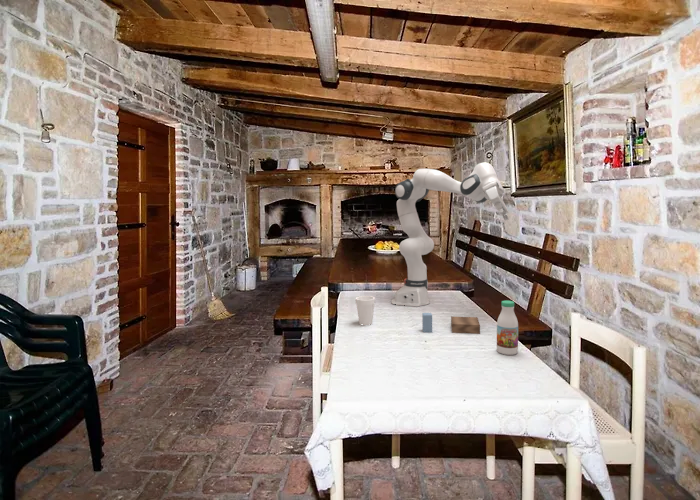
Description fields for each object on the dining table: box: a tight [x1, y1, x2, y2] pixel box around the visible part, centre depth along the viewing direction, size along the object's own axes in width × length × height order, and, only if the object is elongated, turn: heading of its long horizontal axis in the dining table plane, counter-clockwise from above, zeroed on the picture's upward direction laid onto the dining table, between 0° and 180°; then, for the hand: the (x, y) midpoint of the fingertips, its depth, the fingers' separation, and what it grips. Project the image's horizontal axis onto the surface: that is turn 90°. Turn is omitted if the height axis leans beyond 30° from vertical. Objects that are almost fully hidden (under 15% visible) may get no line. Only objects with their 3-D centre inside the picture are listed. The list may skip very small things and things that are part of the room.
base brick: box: [450, 316, 481, 335], centre depth 178 cm, size 12×12×4 cm
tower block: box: [421, 312, 433, 333], centre depth 177 cm, size 4×4×8 cm
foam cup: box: [355, 295, 376, 326], centre depth 190 cm, size 10×9×13 cm
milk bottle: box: [496, 300, 519, 356], centre depth 149 cm, size 8×8×20 cm
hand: (504, 216), depth 177 cm, fingers open, 8 cm apart
